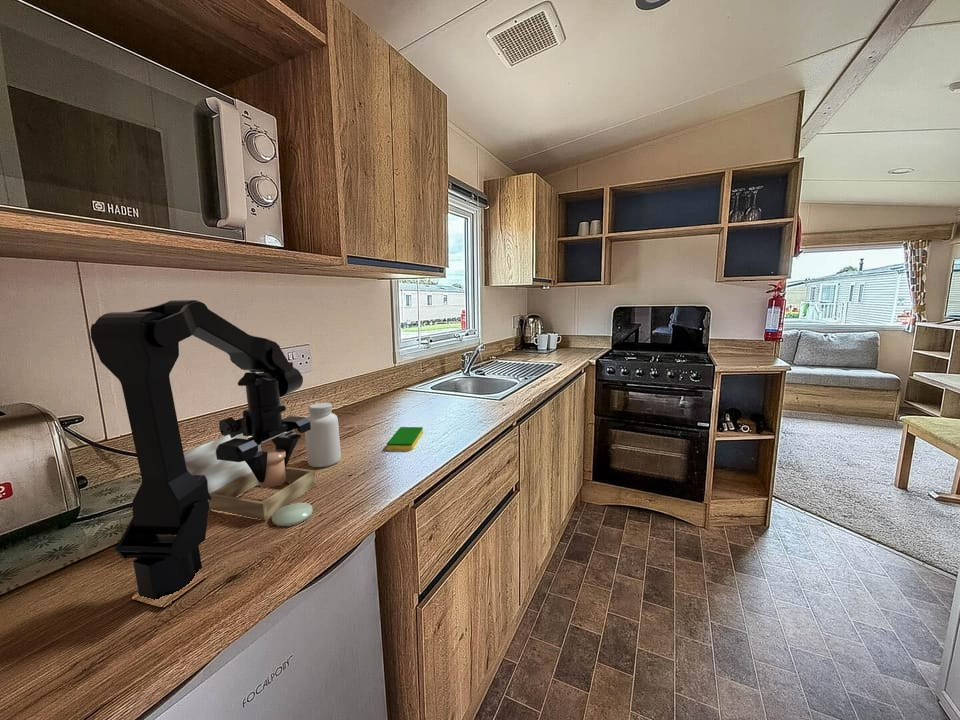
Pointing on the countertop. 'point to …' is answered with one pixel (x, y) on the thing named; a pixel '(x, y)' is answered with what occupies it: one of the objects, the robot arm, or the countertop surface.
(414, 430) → the dish sponge
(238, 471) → the cold frame
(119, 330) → the robot arm
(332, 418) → the pill bottle
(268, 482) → the tan knob
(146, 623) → the countertop surface
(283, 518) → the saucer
